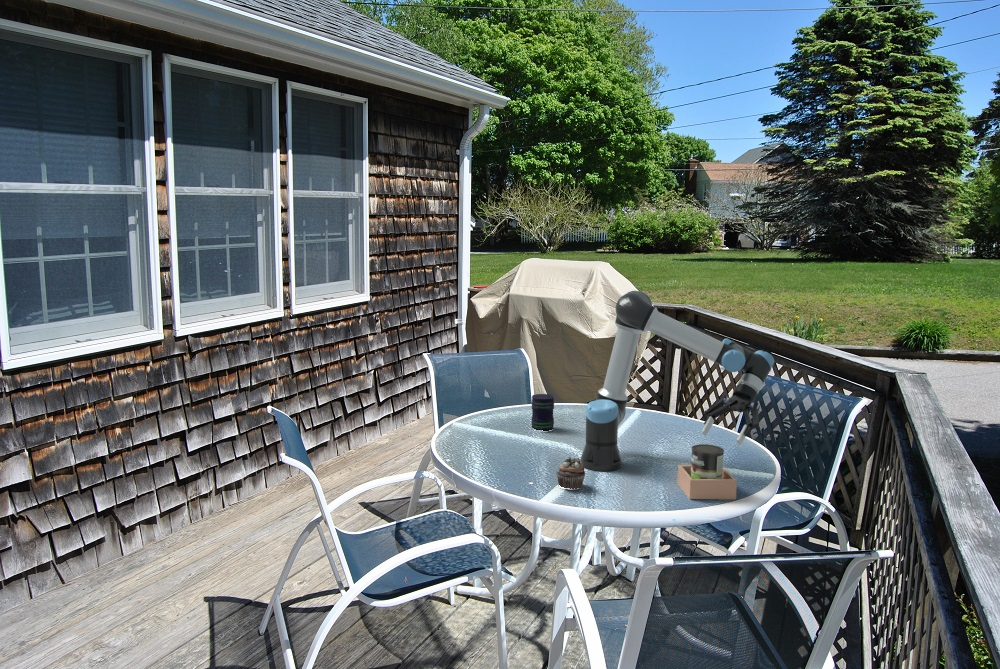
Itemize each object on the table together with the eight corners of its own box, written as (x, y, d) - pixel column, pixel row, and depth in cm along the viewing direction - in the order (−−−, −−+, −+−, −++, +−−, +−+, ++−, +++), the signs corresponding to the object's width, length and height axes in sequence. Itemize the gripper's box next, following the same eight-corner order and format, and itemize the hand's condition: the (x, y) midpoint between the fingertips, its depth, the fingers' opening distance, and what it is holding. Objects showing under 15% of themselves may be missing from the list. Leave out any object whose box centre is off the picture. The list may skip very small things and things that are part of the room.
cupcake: (582, 481, 244) (583, 453, 243) (586, 491, 235) (587, 462, 233) (554, 481, 244) (555, 453, 243) (557, 491, 235) (558, 462, 233)
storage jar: (527, 430, 309) (527, 397, 307) (537, 425, 317) (538, 392, 315) (547, 433, 304) (547, 399, 302) (557, 428, 312) (558, 395, 310)
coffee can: (702, 496, 229) (704, 454, 227) (683, 486, 238) (685, 445, 236) (728, 492, 232) (730, 451, 230) (709, 482, 242) (710, 442, 240)
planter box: (689, 499, 228) (690, 480, 227) (677, 483, 242) (677, 465, 242) (735, 499, 228) (736, 480, 227) (720, 483, 243) (721, 465, 242)
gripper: (784, 402, 242) (758, 452, 235) (720, 389, 261) (694, 435, 254) (777, 389, 238) (750, 440, 231) (712, 377, 257) (686, 423, 250)
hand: (720, 438), depth 242 cm, fingers open, 13 cm apart
